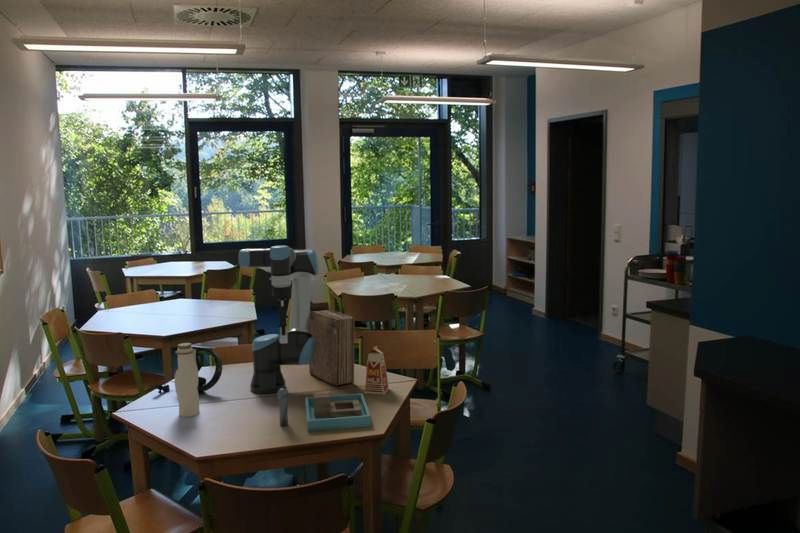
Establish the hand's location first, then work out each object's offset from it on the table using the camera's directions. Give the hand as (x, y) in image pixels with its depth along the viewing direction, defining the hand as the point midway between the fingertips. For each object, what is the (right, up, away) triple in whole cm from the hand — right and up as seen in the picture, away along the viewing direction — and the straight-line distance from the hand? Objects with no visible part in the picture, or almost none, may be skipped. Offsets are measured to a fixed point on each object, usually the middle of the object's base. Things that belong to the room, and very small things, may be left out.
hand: (284, 338), depth 261 cm
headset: (-45, -26, +27) cm, 58 cm away
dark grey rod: (+2, -31, -13) cm, 33 cm away
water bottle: (-38, -30, +2) cm, 48 cm away
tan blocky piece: (+22, -28, -6) cm, 36 cm away
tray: (+21, -29, -6) cm, 37 cm away
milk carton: (+36, -25, +24) cm, 50 cm away
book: (+14, -23, +41) cm, 49 cm away
